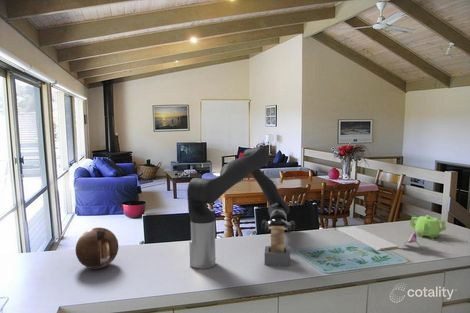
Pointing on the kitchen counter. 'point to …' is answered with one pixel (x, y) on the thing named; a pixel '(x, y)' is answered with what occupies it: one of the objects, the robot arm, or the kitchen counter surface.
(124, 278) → the kitchen counter surface
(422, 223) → the teapot
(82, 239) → the wooden sphere
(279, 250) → the tan tall cylinder
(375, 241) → the baseboard molding
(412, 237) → the lily
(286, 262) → the endcap
